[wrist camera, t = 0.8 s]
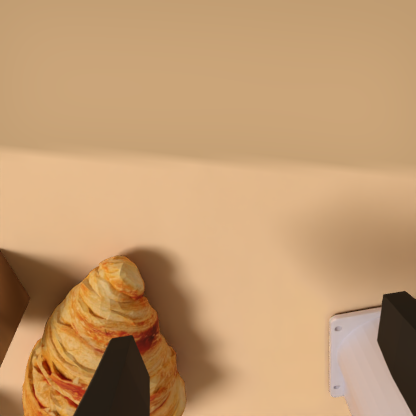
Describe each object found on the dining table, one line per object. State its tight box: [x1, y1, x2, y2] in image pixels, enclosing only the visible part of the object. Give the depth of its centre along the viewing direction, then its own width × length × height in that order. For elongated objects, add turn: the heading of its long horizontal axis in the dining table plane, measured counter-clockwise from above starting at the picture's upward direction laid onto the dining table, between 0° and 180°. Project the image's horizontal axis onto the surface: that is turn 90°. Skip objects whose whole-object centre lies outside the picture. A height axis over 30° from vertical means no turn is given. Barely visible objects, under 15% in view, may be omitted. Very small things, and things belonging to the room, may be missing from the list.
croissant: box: [22, 255, 186, 416], centre depth 24 cm, size 21×10×8 cm, turn 170°
